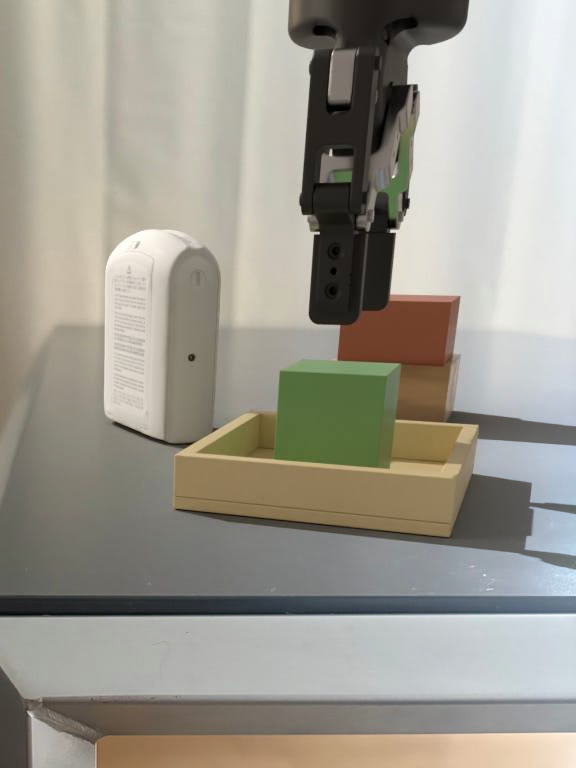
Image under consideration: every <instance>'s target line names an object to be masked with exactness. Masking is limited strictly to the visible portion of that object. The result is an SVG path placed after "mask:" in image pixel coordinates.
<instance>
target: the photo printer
mask: <svg viewBox="0 0 576 768" xmlns="http://www.w3.org/2000/svg"><path fill="white" fill-rule="evenodd" d="M221 288H222V276H221V268H220V265H219V263H218V260H217V258H216V257H215V255H214V254H213V252H211V250H210V249H209V248H208V247H207V245H205V244H203V243H202V242H201V241H200V240H198V239H196V238H195V237H194V236H192V235H190V234H188V233H186V232H183V231H180V230H176V229H157V228H153V229H152V228H151V229H145V230H141V231H137V232H136V233H133V234H132V235H129V236H128V237H127V238H125V239H124V240H122V241H121V242H120V243H119V244H118V245H117V246H116V247H115V248H114V250H113V251H112V252H111V253H110V255H109V257H108V259H107V263H106V266H105V272H104V361H103V362H104V369H103V371H104V372H103V374H104V377H103V409H104V415H105V416H106V418H108V419H110V420H111V421H114V422H116V423H117V424H120V425H123V426H126V427H128V428H131V429H133V430H135V431H138V433H139V432H140V433H142V434H144V435H147V436H148V437H151V438H154V439H157V440H161V441H164V442H166V443H169V444H194V443H196V442H198V441H199V440H201V439H203V438H204V437H206V436H208V435H210V434H211V433H213V430H214V429H213V428H214V422H215V405H216V391H217V390H216V389H217V388H216V387H217V372H218V350H219V331H220V314H221V313H220V312H221V290H222V289H221Z"/></svg>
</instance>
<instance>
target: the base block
mask: <svg viewBox="0 0 576 768" xmlns="http://www.w3.org/2000/svg"><path fill="white" fill-rule="evenodd" d="M461 357H462V354H461V353H453V355H452V356H451V357H450V358H449V359H448V361H447V362H446V363H445V364H444V365H443V366H441V365H418V364H401V373H400V382H399V391H398V400H397V409H396V418H395V420H409V421H424V422H440V423H448V420H449V418H450V416H451V415H452V413H453V411H454V409H455V401H456V395H457V387H458V379H459V374H460V373H459V371H460V364H461ZM331 360H332V361H337V356H336V357H334V358H332V359H331Z"/></svg>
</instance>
